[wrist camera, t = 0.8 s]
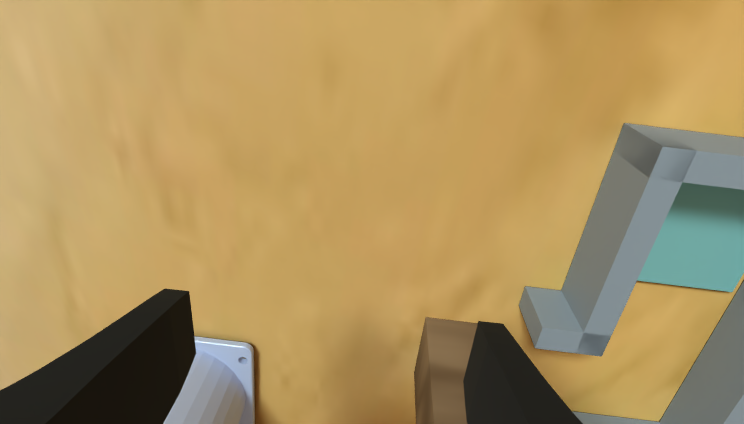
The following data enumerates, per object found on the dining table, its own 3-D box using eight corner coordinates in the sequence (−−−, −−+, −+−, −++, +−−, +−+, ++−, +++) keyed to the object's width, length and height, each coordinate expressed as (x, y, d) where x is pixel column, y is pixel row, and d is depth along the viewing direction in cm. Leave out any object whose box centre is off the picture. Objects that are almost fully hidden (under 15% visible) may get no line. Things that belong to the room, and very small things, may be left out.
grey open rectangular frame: (671, 438, 26) (702, 489, 24) (482, 415, 26) (492, 463, 24) (852, 151, 18) (930, 179, 16) (580, 117, 18) (611, 140, 16)
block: (484, 380, 25) (512, 511, 19) (414, 372, 25) (419, 499, 19) (501, 326, 23) (539, 450, 17) (425, 317, 23) (435, 438, 17)
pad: (727, 288, 22) (732, 292, 21) (604, 273, 21) (607, 276, 21) (795, 173, 19) (801, 175, 19) (653, 155, 19) (657, 158, 18)
